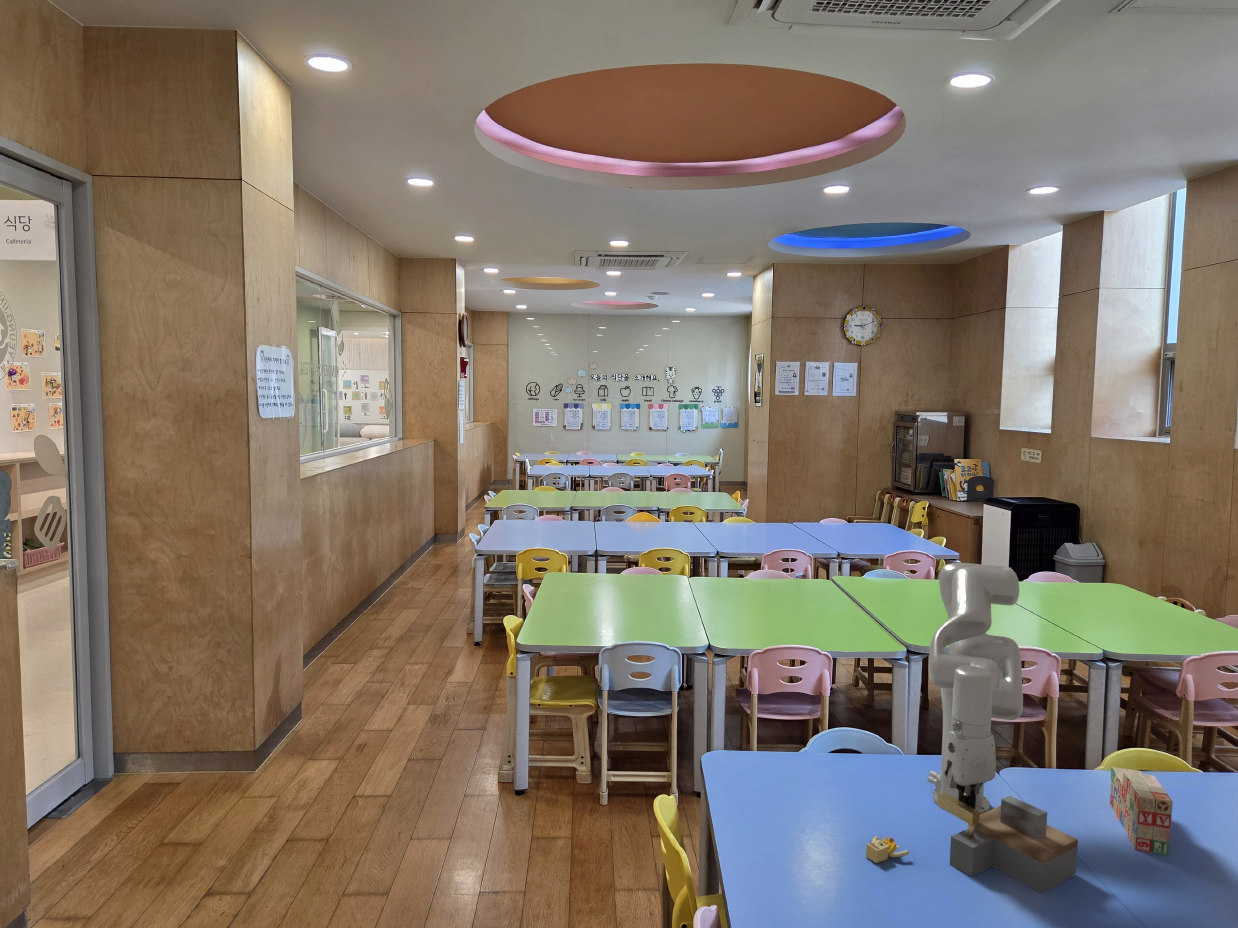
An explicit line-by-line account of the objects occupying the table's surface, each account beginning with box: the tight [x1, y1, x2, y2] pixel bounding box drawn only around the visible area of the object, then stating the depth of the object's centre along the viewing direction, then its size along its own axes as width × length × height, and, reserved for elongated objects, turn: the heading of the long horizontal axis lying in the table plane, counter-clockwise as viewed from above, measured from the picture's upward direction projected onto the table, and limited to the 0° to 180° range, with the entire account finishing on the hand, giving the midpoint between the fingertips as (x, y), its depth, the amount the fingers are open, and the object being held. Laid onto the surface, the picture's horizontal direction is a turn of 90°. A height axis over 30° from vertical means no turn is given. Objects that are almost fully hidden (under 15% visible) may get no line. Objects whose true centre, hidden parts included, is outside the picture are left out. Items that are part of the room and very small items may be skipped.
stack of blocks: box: [1109, 766, 1174, 856], centre depth 178 cm, size 21×6×12 cm, turn 161°
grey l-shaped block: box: [949, 828, 1078, 894], centre depth 161 cm, size 16×19×6 cm
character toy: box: [865, 835, 910, 864], centre depth 165 cm, size 8×3×8 cm
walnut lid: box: [975, 795, 1079, 864], centre depth 162 cm, size 16×12×6 cm
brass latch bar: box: [936, 792, 980, 838], centre depth 165 cm, size 2×9×6 cm, turn 25°
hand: (966, 810), depth 166 cm, fingers closed
